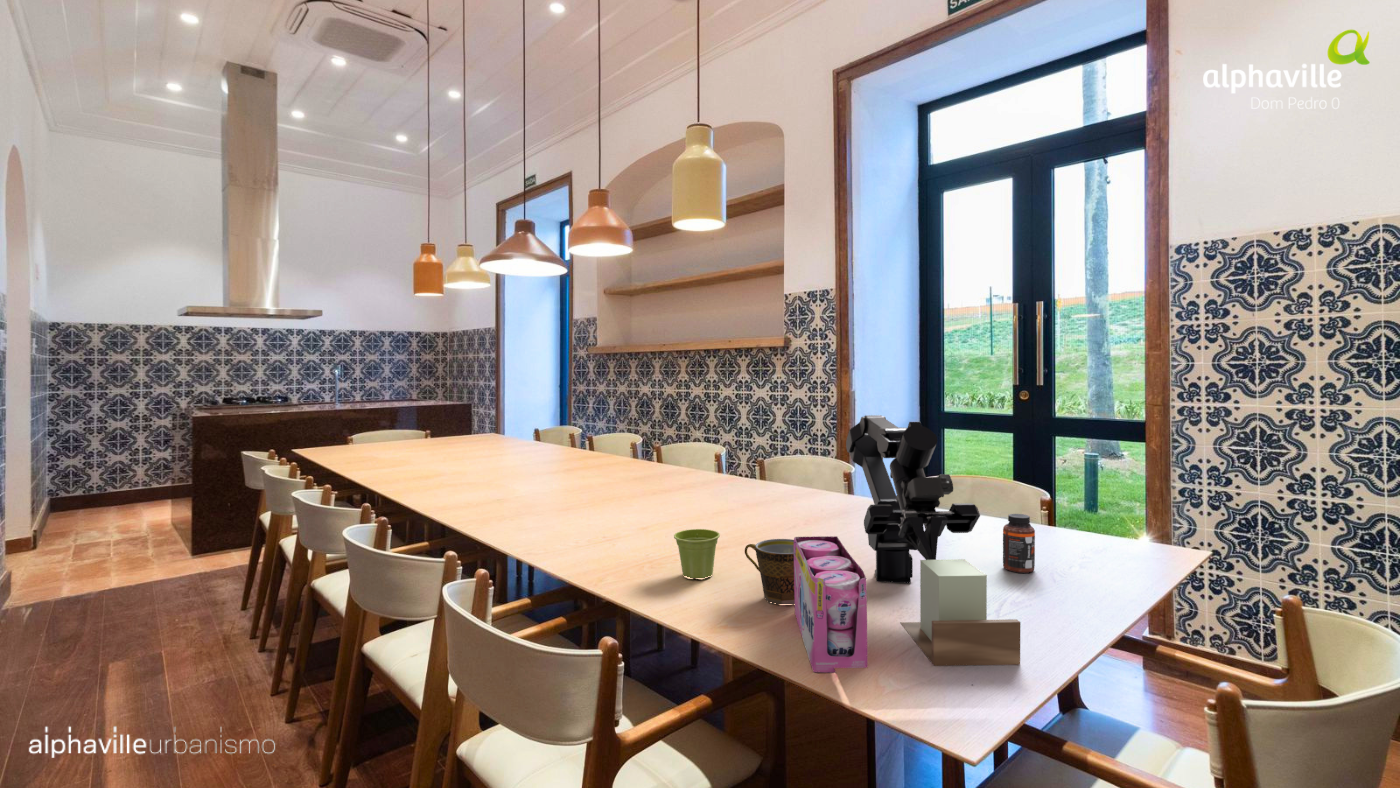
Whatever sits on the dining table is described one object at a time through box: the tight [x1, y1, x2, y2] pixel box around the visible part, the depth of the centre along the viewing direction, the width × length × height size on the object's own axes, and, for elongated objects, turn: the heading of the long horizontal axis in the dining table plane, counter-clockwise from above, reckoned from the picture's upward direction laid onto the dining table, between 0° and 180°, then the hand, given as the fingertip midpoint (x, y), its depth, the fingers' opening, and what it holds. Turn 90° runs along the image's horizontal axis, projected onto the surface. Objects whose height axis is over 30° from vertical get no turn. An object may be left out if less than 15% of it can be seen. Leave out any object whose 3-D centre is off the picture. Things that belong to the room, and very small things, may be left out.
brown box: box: [900, 618, 1021, 667], centre depth 98 cm, size 15×12×7 cm
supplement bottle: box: [1002, 513, 1036, 574], centre depth 135 cm, size 6×6×11 cm
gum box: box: [793, 535, 868, 674], centre depth 101 cm, size 24×8×14 cm, turn 179°
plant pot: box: [673, 528, 721, 578], centre depth 133 cm, size 9×9×9 cm
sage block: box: [919, 558, 988, 641], centre depth 99 cm, size 8×7×11 cm
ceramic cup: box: [744, 538, 795, 604], centre depth 120 cm, size 13×10×10 cm
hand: (932, 562), depth 107 cm, fingers closed
